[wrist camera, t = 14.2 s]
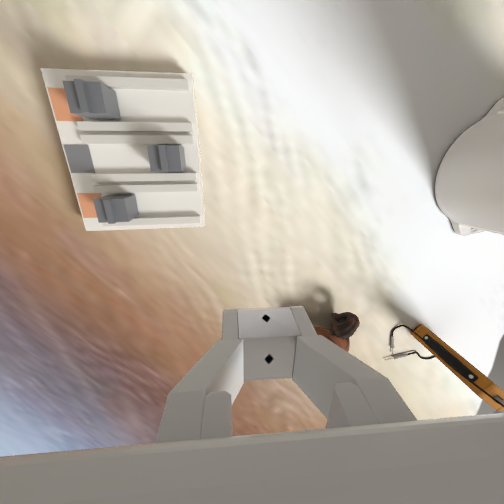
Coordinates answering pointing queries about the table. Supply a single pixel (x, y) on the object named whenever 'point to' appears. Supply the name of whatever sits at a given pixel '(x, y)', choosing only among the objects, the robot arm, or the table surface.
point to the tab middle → (166, 158)
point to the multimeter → (456, 366)
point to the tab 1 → (91, 99)
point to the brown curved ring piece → (340, 329)
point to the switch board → (133, 146)
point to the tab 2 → (116, 208)
